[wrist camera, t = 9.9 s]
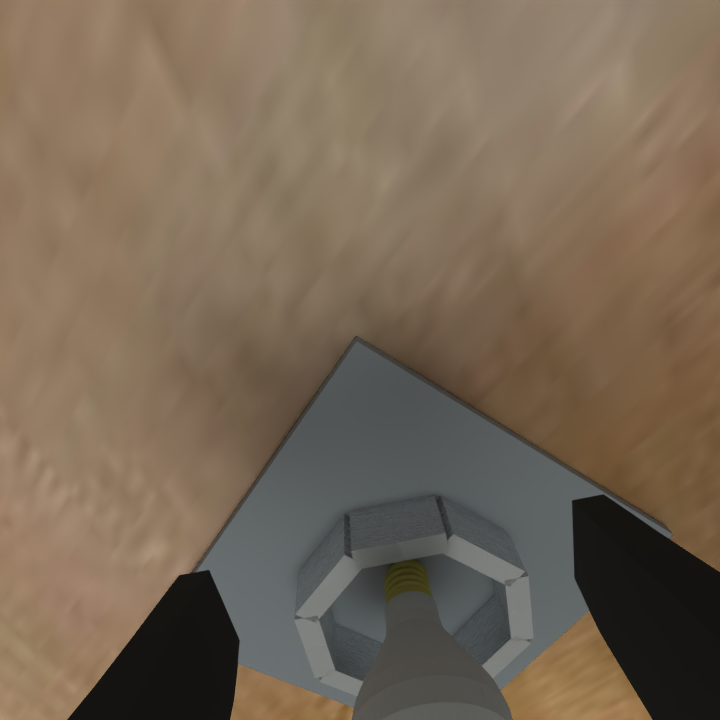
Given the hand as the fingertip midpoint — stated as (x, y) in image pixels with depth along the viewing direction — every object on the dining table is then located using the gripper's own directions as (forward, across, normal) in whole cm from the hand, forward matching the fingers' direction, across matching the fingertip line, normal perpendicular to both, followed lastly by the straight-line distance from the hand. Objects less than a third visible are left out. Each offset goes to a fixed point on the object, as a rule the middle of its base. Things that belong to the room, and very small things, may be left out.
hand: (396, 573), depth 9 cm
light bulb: (+10, 0, +10) cm, 14 cm away
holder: (+10, 0, +11) cm, 15 cm away
